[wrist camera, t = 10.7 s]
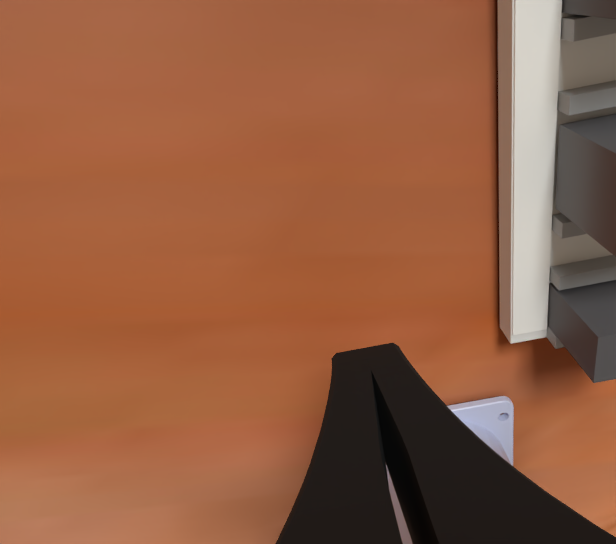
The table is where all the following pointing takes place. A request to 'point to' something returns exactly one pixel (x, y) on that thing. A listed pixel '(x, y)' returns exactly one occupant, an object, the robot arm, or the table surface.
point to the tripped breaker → (589, 177)
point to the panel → (553, 177)
